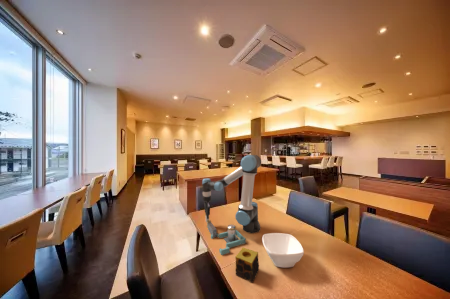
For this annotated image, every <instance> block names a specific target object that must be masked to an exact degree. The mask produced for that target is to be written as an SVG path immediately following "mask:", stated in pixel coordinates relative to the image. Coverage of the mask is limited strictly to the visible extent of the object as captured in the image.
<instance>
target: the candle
mask: <svg viewBox="0 0 450 299" xmlns="http://www.w3.org/2000/svg"><path fill="white" fill-rule="evenodd" d="M234 259H235V275H236V277H237V276H238V277H239V278H242V279H244V280H246V281H249V282H250V283H254V281H255V279H256V277H257V274H258V272H259V268H260V265H259V263H260V262H259V252H257V251H255V250H252V249H249V248H245V247H242V248H241V249H240V251H239V252H238V253H237V254H236V255H235V258H234Z"/></svg>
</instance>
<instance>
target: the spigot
mask: <svg viewBox="0 0 450 299" xmlns="http://www.w3.org/2000/svg"><path fill="white" fill-rule="evenodd" d="M226 228H227V232H228V236H227V237H228V241H229V242H233V241H235V240H236V237H237V235H236V232H235V230H236V225H234V224H228V225H227V227H226Z"/></svg>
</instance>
